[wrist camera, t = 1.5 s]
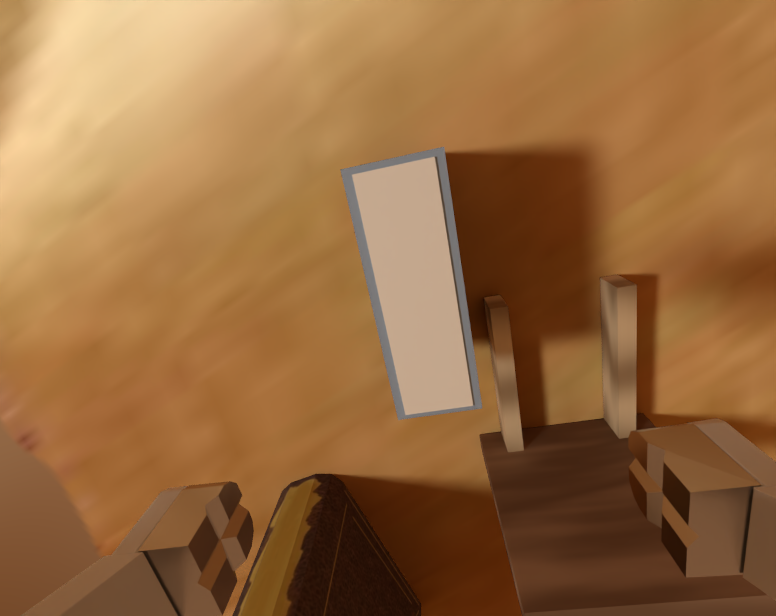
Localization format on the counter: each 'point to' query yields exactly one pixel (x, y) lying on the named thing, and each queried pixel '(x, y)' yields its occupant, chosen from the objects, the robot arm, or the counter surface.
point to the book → (323, 560)
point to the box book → (415, 281)
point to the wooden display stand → (590, 495)
